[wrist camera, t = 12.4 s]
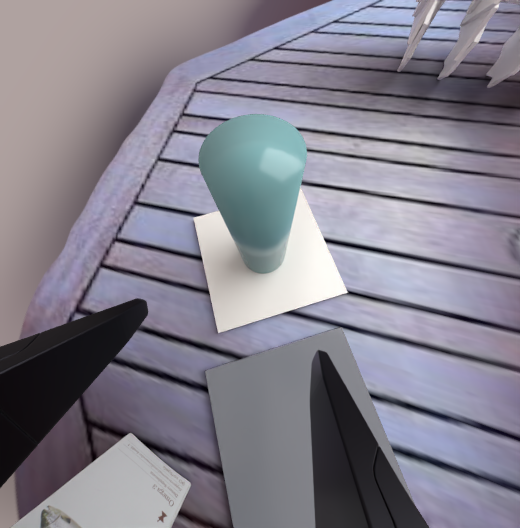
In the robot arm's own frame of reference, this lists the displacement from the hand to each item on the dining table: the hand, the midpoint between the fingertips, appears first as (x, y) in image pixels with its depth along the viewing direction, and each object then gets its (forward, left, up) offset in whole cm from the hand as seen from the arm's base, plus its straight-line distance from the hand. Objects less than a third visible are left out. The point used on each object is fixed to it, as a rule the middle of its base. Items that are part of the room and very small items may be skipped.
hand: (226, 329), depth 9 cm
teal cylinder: (+4, +7, -10) cm, 13 cm away
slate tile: (+2, -10, -11) cm, 15 cm away
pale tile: (+4, +7, -11) cm, 13 cm away
